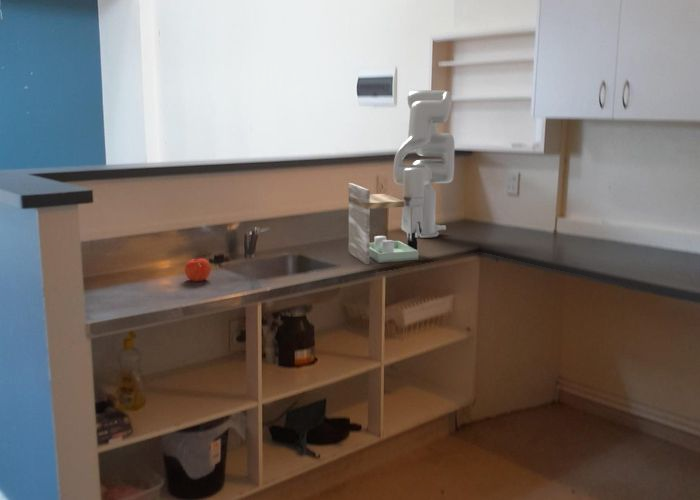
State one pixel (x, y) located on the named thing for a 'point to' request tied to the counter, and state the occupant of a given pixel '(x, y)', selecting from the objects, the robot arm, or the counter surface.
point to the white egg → (387, 246)
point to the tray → (394, 253)
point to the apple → (197, 269)
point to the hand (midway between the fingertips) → (412, 250)
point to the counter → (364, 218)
